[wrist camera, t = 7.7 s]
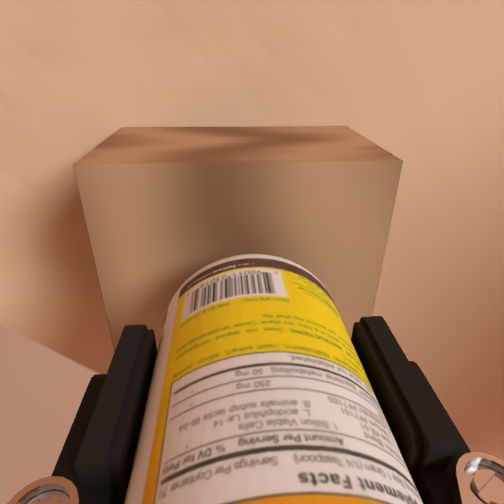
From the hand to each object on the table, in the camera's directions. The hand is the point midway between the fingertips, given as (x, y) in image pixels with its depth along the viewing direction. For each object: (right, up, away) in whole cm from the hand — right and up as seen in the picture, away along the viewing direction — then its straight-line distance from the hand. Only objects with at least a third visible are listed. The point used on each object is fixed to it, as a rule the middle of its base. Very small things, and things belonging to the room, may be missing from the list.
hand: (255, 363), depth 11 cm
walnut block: (-1, +4, +8) cm, 9 cm away
